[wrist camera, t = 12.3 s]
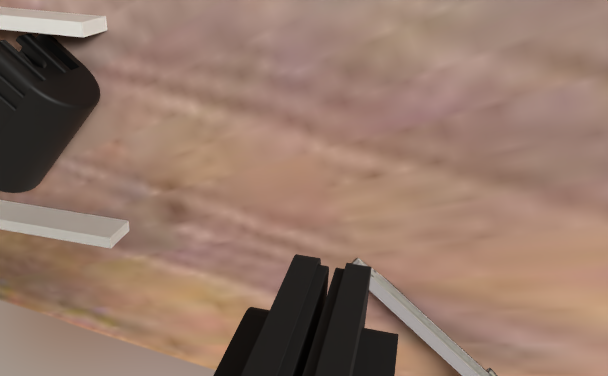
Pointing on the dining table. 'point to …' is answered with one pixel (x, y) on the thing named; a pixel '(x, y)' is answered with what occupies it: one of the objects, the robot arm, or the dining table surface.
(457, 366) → the caliper
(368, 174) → the dining table surface
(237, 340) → the robot arm
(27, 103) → the end cap
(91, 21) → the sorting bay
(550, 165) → the dining table surface
